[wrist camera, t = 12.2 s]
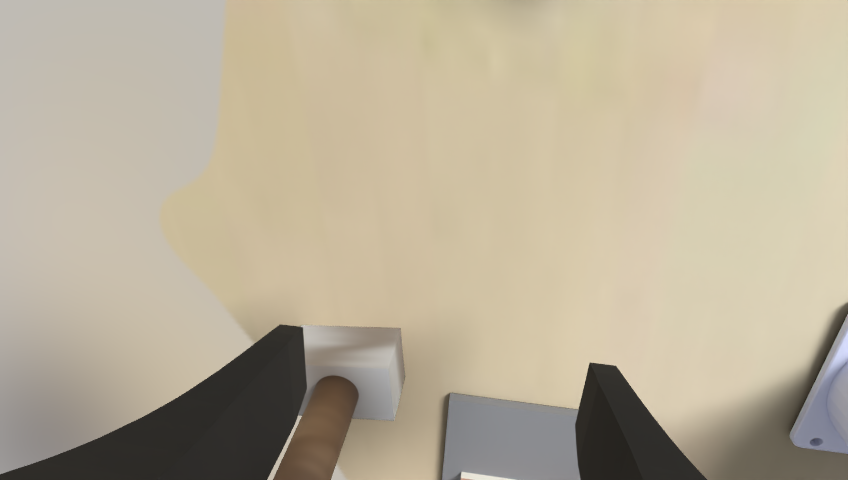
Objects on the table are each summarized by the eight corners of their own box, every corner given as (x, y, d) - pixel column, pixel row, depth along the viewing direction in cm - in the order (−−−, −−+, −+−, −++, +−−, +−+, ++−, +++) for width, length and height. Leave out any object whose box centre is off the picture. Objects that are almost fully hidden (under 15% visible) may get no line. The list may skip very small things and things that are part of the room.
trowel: (400, 328, 26) (345, 513, 17) (405, 377, 27) (356, 572, 18) (301, 324, 27) (199, 500, 18) (310, 372, 28) (220, 558, 19)
